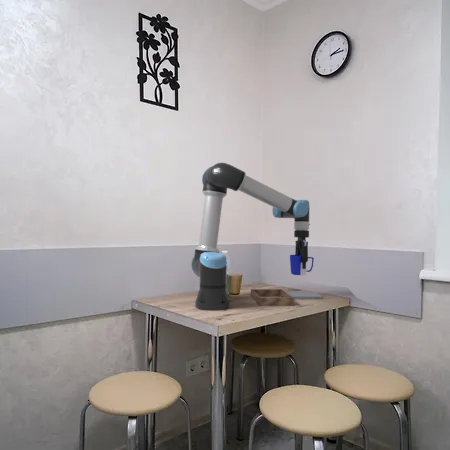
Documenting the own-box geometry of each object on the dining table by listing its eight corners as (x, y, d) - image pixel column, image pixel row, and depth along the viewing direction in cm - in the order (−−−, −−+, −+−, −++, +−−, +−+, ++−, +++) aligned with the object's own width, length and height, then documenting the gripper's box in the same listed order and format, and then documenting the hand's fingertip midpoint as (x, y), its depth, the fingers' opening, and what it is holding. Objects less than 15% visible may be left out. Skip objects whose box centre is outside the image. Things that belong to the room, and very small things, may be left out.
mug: (313, 276, 181) (314, 256, 181) (289, 275, 183) (289, 255, 183) (312, 274, 189) (313, 255, 189) (289, 273, 191) (289, 254, 191)
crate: (259, 305, 162) (259, 297, 162) (250, 296, 185) (250, 289, 185) (293, 305, 163) (293, 298, 163) (281, 296, 186) (281, 289, 186)
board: (287, 299, 179) (287, 296, 179) (280, 293, 193) (280, 291, 193) (322, 299, 180) (322, 296, 180) (312, 293, 194) (312, 291, 194)
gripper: (315, 230, 177) (314, 276, 177) (302, 229, 197) (302, 271, 197) (300, 229, 177) (299, 276, 176) (289, 229, 196) (288, 271, 196)
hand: (301, 274), depth 187 cm, fingers closed on mug, 7 cm apart
